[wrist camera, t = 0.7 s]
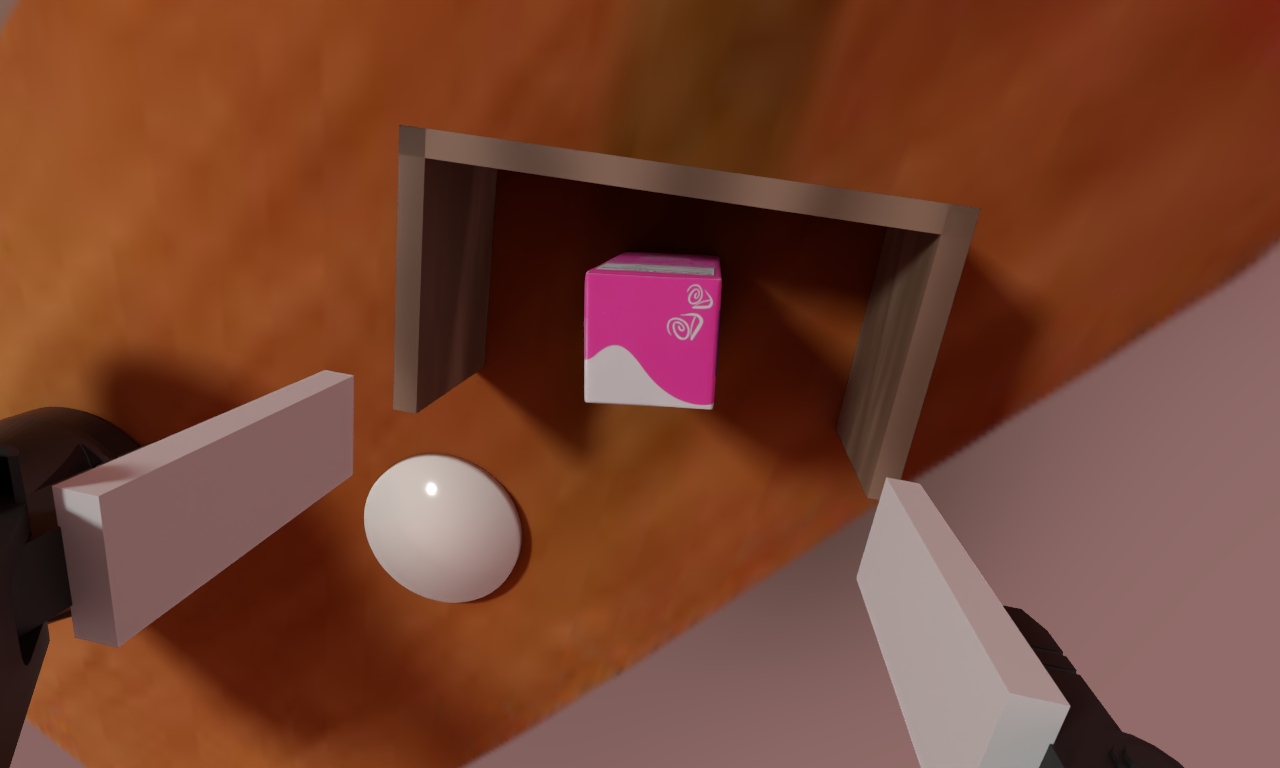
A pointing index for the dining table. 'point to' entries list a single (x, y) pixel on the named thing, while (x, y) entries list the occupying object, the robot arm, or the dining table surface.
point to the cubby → (467, 177)
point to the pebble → (443, 527)
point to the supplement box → (652, 330)
